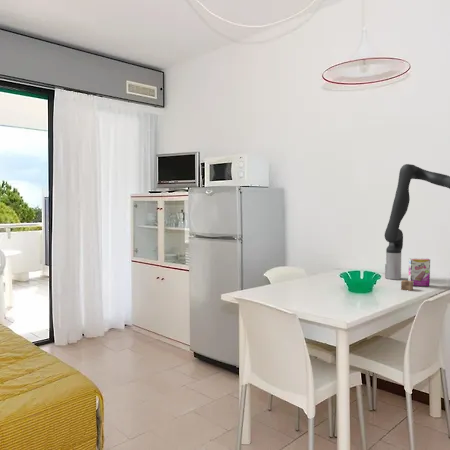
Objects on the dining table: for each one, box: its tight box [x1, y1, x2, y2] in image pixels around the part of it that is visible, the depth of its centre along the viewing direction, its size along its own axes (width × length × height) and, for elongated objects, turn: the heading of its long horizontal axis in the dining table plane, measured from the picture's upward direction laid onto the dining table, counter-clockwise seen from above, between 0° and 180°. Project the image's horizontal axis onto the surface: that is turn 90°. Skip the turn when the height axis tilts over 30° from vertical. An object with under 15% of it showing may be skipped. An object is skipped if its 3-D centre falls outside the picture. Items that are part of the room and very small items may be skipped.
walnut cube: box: [400, 279, 414, 292], centre depth 242 cm, size 5×5×5 cm
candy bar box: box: [407, 257, 431, 287], centre depth 252 cm, size 11×5×16 cm, turn 84°
